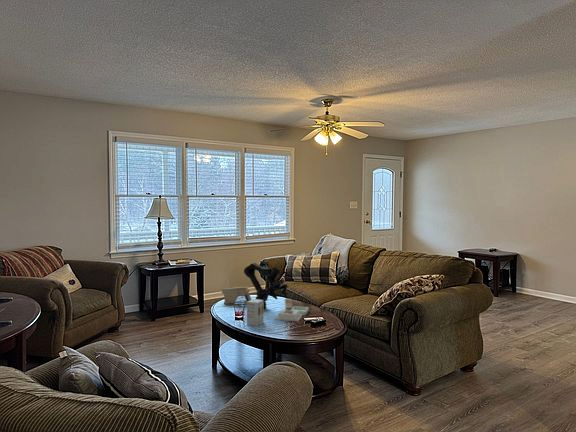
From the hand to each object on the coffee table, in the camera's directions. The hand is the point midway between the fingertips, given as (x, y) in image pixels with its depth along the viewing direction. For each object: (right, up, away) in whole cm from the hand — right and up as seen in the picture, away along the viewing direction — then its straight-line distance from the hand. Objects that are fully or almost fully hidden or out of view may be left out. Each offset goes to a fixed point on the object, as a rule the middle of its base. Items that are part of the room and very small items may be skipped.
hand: (281, 298), depth 305 cm
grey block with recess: (+5, -14, -5) cm, 16 cm away
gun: (-39, -12, +34) cm, 53 cm away
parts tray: (+14, -13, +8) cm, 21 cm away
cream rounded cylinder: (+5, -13, -5) cm, 15 cm away
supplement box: (-19, -15, -19) cm, 30 cm away
